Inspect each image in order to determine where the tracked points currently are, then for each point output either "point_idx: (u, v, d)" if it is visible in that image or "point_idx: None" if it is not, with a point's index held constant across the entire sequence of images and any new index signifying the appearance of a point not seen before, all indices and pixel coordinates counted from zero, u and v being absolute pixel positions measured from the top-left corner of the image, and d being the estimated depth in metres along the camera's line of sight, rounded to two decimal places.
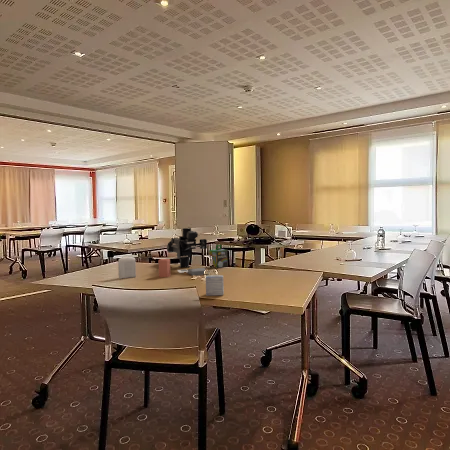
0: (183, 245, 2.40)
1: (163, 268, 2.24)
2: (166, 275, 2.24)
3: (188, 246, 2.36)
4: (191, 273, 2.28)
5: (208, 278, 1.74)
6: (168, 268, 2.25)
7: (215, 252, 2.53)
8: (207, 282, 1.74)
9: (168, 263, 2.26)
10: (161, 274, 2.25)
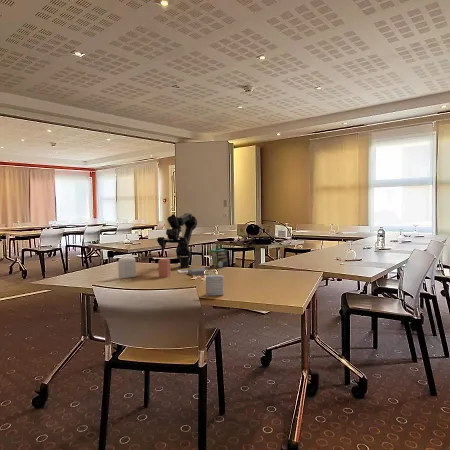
0: None
1: (163, 268, 2.24)
2: (166, 275, 2.24)
3: None
4: (191, 273, 2.28)
5: (208, 278, 1.74)
6: (168, 268, 2.25)
7: (215, 252, 2.53)
8: (207, 282, 1.74)
9: (168, 263, 2.26)
10: (161, 274, 2.25)
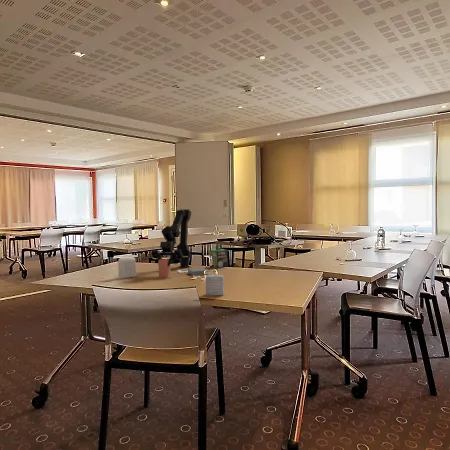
0: None
1: (163, 268, 2.24)
2: (166, 275, 2.24)
3: None
4: (191, 273, 2.28)
5: (208, 278, 1.74)
6: (168, 268, 2.25)
7: (215, 252, 2.53)
8: (207, 282, 1.74)
9: None
10: (161, 274, 2.25)
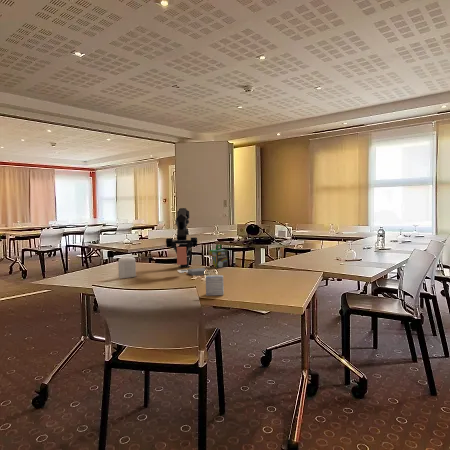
0: (173, 244, 2.30)
1: (182, 256, 2.26)
2: (185, 262, 2.26)
3: (175, 251, 2.27)
4: (191, 273, 2.28)
5: (208, 278, 1.74)
6: (186, 255, 2.27)
7: (215, 252, 2.53)
8: (207, 282, 1.74)
9: None
10: (180, 261, 2.26)
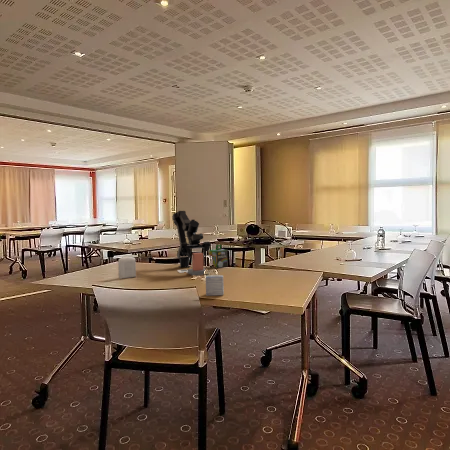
0: (185, 249, 2.32)
1: (199, 261, 2.30)
2: (202, 268, 2.31)
3: (189, 256, 2.30)
4: (191, 273, 2.28)
5: (208, 278, 1.74)
6: None
7: (215, 252, 2.53)
8: (207, 282, 1.74)
9: None
10: (197, 267, 2.30)
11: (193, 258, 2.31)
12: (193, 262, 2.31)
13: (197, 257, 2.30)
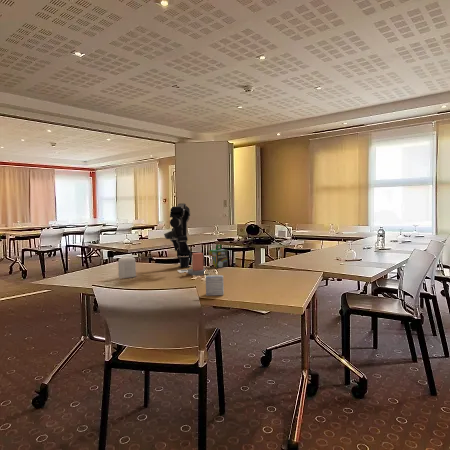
0: None
1: (199, 261, 2.30)
2: (202, 268, 2.31)
3: None
4: (191, 273, 2.28)
5: (208, 278, 1.74)
6: None
7: (215, 252, 2.53)
8: (207, 282, 1.74)
9: None
10: (197, 267, 2.30)
11: (193, 258, 2.31)
12: (193, 262, 2.31)
13: (197, 257, 2.30)
